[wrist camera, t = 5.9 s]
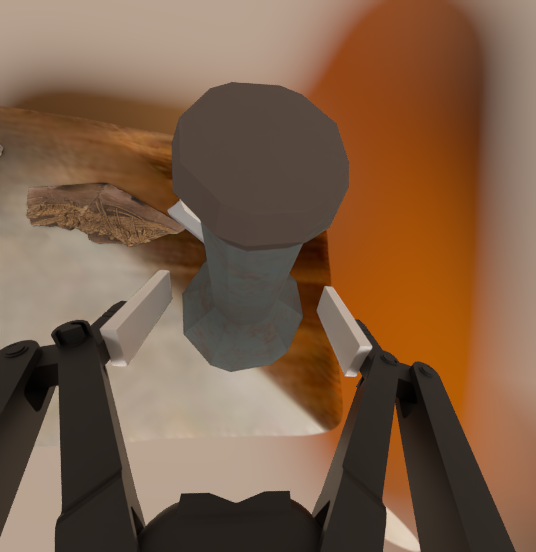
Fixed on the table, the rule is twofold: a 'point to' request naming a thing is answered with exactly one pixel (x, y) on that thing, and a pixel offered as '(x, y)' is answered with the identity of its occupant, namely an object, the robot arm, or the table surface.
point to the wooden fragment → (99, 213)
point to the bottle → (253, 213)
